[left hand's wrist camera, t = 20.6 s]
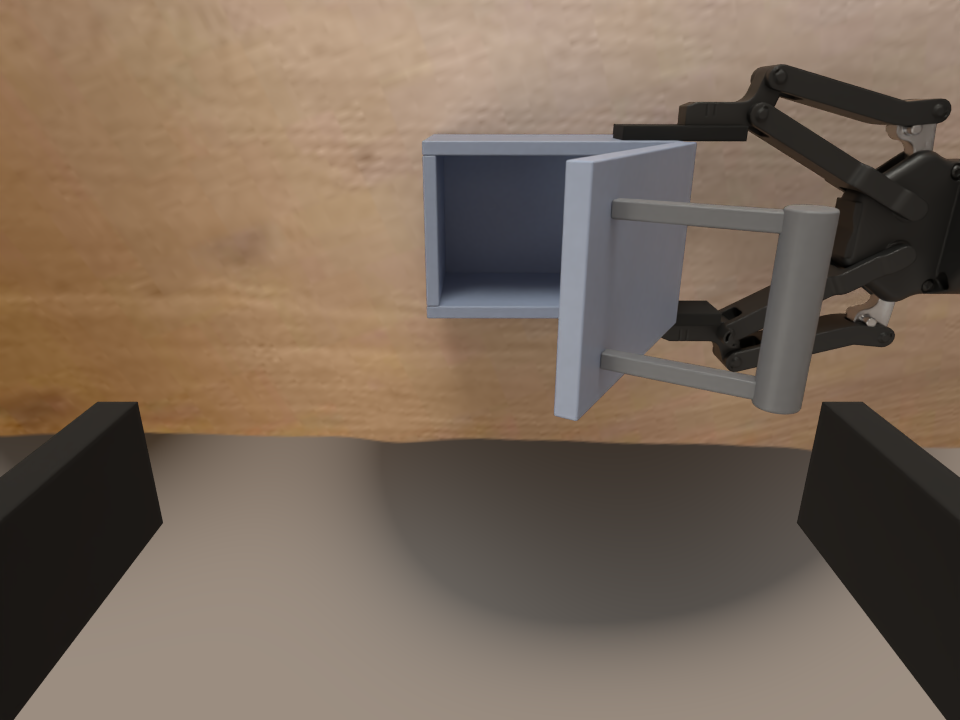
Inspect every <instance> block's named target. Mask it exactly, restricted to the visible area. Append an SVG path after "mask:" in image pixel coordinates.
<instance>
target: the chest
mask: <svg viewBox="0 0 960 720" xmlns="http://www.w3.org/2000/svg"><path fill="white" fill-rule="evenodd" d="M674 142H683V141H678V140H619V139H615V138H613V134H433V135H432V136H430V137H428V138H427V139H425V140H424V141H422V154H423V190H424V225H425V259H426V294H427V318H559V300H560V279H561V258H562V237H563V216H564V195H565V174H566V161H567V160H570V159H577V158H583V157H589V156H595V155H601V154H607V153H613V152H619V151H625V150H631V149H637V148H644V147H650V146H656V145H662V144H668V143H674Z"/></svg>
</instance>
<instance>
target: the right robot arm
mask: <svg viewBox="0 0 960 720" xmlns="http://www.w3.org/2000/svg"><path fill="white" fill-rule="evenodd" d="M779 97H781V98H784V99H788V100H791V101H794V102H798V103H801V104H804V105H808V106H811V107H815V108H818V109H821V110H825V111H828V112H831V113H835V114H838V115H841V116H845V117H848V118H851V119H855V120H858V121H861V122H865V123H870V124H879V125H887V126H886V132H887V133H888V136H889V137H890V138H891V139H894V140H899V141H900V142H902V144H903V146H904V151H903V152H901V153H900V154H898V155H897V156H895V157H893V158H892V159H890V160H889V161H887V162H886V163H884V164H883V165H881V166H880V167H878V168H876V169H874V168H872V167H870V166H868V165H865V164H863V163H861V162H859V161H858V160H856V159H855V158H853V157H851V156H850V155H848V154H847V153H845V152H844V151H842V150H840V149H839V148H837V147H836V146H834V145H833V144H831V143H829V142H828V141H826V140H825V139H823V138H822V137H820V136H819V135H817V134H815V133H814V132H812V131H811V130H809V129H808V128H806V127H804V126H803V125H801V124H800V123H798V122H797V121H795V120H793V119H792V118H790V117H789V116H787V115H786V114H784V113H783V112H781V111H779V110H778V109H776V108H775V107H774V106H775V104H776V102H777V100H778V98H779ZM950 112H951V104H950V102H949V101H948V100H946V99H908V100H900V99H897V98H894V97H891V96H887V95H884V94H881V93H877V92H874V91H871V90H867V89H864V88H861V87H858V86H854V85H851V84H848V83H844V82H841V81H838V80H835V79H831V78H828V77H825V76H821V75H818V74H815V73H811V72H808V71H805V70H802V69H798V68H795V67H792V66H788V65H784V64H780V65H772V66H765V67H760V68H758V69H756V70H755V71H754V72H753V74H752V76H751V85H750V87H749V89H748V91H747V93H746V95H745V96H744V97H743V98H742V99H740V100H739V101H736V102H688V103H686V104H683V105H681V106H679V115H678V124H614V128H613V138H615V139H619V140H678V141H746V140H747V133H748V131H749V132H751V133H753V134H754V135H756V136H757V137H759V138H761V139H762V140H764V141H765V142H767V143H769V144H770V145H772V146H773V147H775V148H777V149H778V150H780V151H781V152H783V153H785V154H786V155H788V156H789V157H791V158H793V159H794V160H796V161H797V162H799V163H801V164H802V165H804V166H805V167H807V168H809V169H810V170H812V171H813V172H815V173H817V174H818V175H820V176H821V177H823V178H824V179H825V180H826V181H827V182H828V183H830V184H831V185H833V186H835V187H836V188H838V189H839V190H841V191H843V192H844V194H843V196H842V198H837V202H836V207H835V208H836V209H839V210H840V215H839V220H838V225H837V230H836V235H835V240H834V245H833V250H832V255H831V260H830V265H829V270H828V275H827V280H826V285H825V290H824V296H823V300H825V299H827V298H829V297H831V296H834V295H843V294H846V293H849V292H851V291H853V290H855V289H858V288H860V287H862V288H863V289H865V290H866V291H867V292H868V293H869V294H871V296H870V298H869V300H868V301H867V302H866V303H864V304H862V305H856V306H854V307H849V308H847V310H846V314H829V315H824V316H820V317H819V321H818V326H817V331H816V336H815V341H814V346H813V351H812V354H815V353H819V352H824V351H828V350H832V349H837V348H841V347H845V346H849V345H864V346H875V347H885V346H888V345H889V344H891V343H892V342H893V340H894V337H895V334H894V331H893V330H892V329H890V328H889V327H887V325H888V322H889V319H890V316H891V313H892V310H893V307H894V304H895V302H897V301H900V300H903V299H905V298H907V297H909V296H912V295H915V294H960V159H945V158H943V157H941V156H940V155H939V154H937V153H935V152H933V151H932V150H933V144H934V138H935V131H936V125H937V123H941V122H943V121H944V120H946V119H947V117H948V116H949V115H950ZM770 287H771V285H770V286H768V287H766V288H764V289H762V290H760V291H758V292H756V293H754V294H752V295H749V296H747V297H745V298H743V299H741V300H739V301H737V302H735V303H733V304H731V305H729V306H727V307H725V308H723V309H720V310H717V309H716V308H714V307H713V306H712V305H711V304H710V303H709V302H708V301H678V310H677V318H676V323H675V324H674V325H673V326H672V327H671V328H670V329H669V330H668V331H667V332H666V333H665V334H664V335H663V336H662V337H661V338H663V339H666V340H668V341H712V343H713V353H714V355H715V356H716V357H717V358H718V359H719V360H720V361H721V362H722V363H723V364H724V365H725V367H726V368H727V369H728V370H730V371H732V372H738V371H742V370H746V369H750V368H755V367H757V364H758V358H759V352H760V346H761V340H762V334H763V330H761V329H763V328H764V322H765V316H766V310H767V304H768V298H769V292H770ZM759 330H761V331H759Z"/></svg>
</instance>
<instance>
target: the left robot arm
mask: <svg viewBox="0 0 960 720" xmlns="http://www.w3.org/2000/svg"><path fill="white" fill-rule="evenodd" d="M162 523H163V520H162V516H161V511H160V506H159V501H158V497H157V492H156V487H155V482H154V478H153V473H152V468H151V463H150V459H149V454H148V449H147V445H146V440H145V435H144V430H143V425H142V421H141V416H140V411H139V406H138V402H97V403H96V404H94V405H93V406H92V407H90V408H89V409H88V410H87V411H85V412H84V413H83V414H81V415H80V416H79V417H78V418H76V419H75V420H74V421H72V422H71V423H70V424H68V425H67V426H66V427H65V428H63V429H62V430H61V431H59V432H58V433H57V434H56V435H54V436H53V437H52V438H51V439H49V440H48V441H47V442H45V443H44V444H43V445H41V446H40V447H39V448H38V449H36V450H35V451H34V452H32V453H31V454H30V455H29V456H27V457H26V458H25V459H23V460H22V461H21V462H20V463H18V464H17V465H16V466H14V467H13V468H12V469H11V470H9V471H8V472H7V473H5V474H4V475H3V476H2V477H0V720H14V719H15V717H16V716H17V715H18V713H19V712H20V711H21V709H22V708H23V707H24V705H25V704H26V703H27V701H28V700H29V699H30V698H31V696H32V695H33V694H34V692H35V691H36V690H37V688H38V687H39V686H40V684H41V683H42V682H43V680H44V679H45V678H46V676H47V675H48V674H49V672H50V671H51V670H52V669H53V667H54V666H55V665H56V663H57V662H58V661H59V659H60V658H61V657H62V655H63V654H64V653H65V651H66V650H67V649H68V647H69V646H70V645H71V643H72V642H73V641H74V640H75V638H76V637H77V636H78V634H79V633H80V632H81V630H82V629H83V628H84V626H85V625H86V624H87V622H88V621H89V620H90V618H91V617H92V616H93V614H94V613H95V612H96V611H97V609H98V608H99V607H100V605H101V604H102V603H103V601H104V600H105V599H106V597H107V596H108V595H109V593H110V592H111V591H112V589H113V588H114V587H115V585H116V584H117V583H118V582H119V580H120V579H121V578H122V576H123V575H124V574H125V572H126V571H127V570H128V568H129V567H130V566H131V564H132V563H133V562H134V560H135V559H136V558H137V556H138V555H139V554H140V552H141V551H142V550H143V549H144V547H145V546H146V544H147V543H148V542H149V541H150V539H151V538H152V537H153V535H154V534H155V533H156V531H157V530H158V529H159V527H160V526H161V525H162ZM797 523H798V525H799V526H800V527H801V529H802V530H803V531H804V533H805V534H806V535H807V537H808V538H809V539H810V541H811V542H812V543H813V545H814V546H815V547H816V549H817V550H818V551H819V553H820V554H821V555H822V556H823V558H824V559H825V560H826V562H827V563H828V564H829V566H830V567H831V568H832V570H833V571H834V572H835V574H836V575H837V576H838V578H839V579H840V580H841V582H842V583H843V584H844V585H845V587H846V588H847V589H848V591H849V592H850V593H851V595H852V596H853V597H854V599H855V600H856V601H857V603H858V604H859V605H860V606H861V608H862V609H863V611H864V612H865V613H866V614H867V616H868V617H869V618H870V620H871V621H872V622H873V624H874V625H875V626H876V628H877V629H878V630H879V632H880V633H881V634H882V636H883V637H884V638H885V640H886V641H887V642H888V643H889V645H890V646H891V647H892V649H893V650H894V651H895V653H896V654H897V655H898V657H899V658H900V659H901V661H902V662H903V663H904V665H905V666H906V667H907V669H908V670H909V671H910V672H911V674H912V675H913V676H914V678H915V679H916V680H917V682H918V683H919V684H920V686H921V687H922V688H923V690H924V691H925V692H926V694H927V695H928V696H929V697H930V699H931V700H932V701H933V703H934V704H935V705H936V707H937V708H938V709H939V711H940V712H941V713H942V715H943V716H944V717H945V719H946V720H960V477H958V476H957V475H956V474H955V473H953V472H952V471H951V470H949V469H948V468H947V467H946V466H944V465H943V464H942V463H940V462H939V461H938V460H937V459H935V458H934V457H933V456H931V455H930V454H929V453H928V452H926V451H925V450H924V449H922V448H921V447H920V446H919V445H917V444H916V443H915V442H913V441H912V440H911V439H910V438H908V437H907V436H906V435H904V434H903V433H902V432H901V431H899V430H898V429H897V428H895V427H894V426H893V425H892V424H890V423H889V422H888V421H886V420H885V419H884V418H882V417H881V416H880V415H879V414H877V413H876V412H875V411H873V410H872V409H871V408H870V407H868V406H867V405H866V404H864V403H863V402H822V406H821V411H820V416H819V421H818V425H817V430H816V435H815V440H814V444H813V449H812V454H811V459H810V463H809V468H808V473H807V478H806V482H805V487H804V492H803V497H802V501H801V506H800V511H799V516H798V520H797Z"/></svg>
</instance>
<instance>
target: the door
mask: <svg viewBox="0 0 960 720" xmlns="http://www.w3.org/2000/svg"><path fill="white" fill-rule="evenodd" d="M696 146H697V143H696V142H674V143H668V144H662V145H656V146H650V147H644V148H637V149H631V150H625V151H619V152H613V153H607V154H601V155H595V156H589V157H583V158H577V159H570V160H567V161H566V174H565V195H564V216H563V237H562V258H561V279H560V300H559V321H558V343H557V364H556V385H555V406H554V415H555V416H558V417H562V418H566V419H570V420H574V421H578V420H579V419H580V418H581V417H582V416H583V415H584V414H585V413H586V412H587V411H588V410H589V409H590V408H591V407H592V406H593V405H594V404H595V403H596V402H597V401H598V400H599V399H600V398H601V397H602V396H603V395H604V394H605V393H606V392H607V391H608V390H609V389H610V388H611V387H612V386H613V385H614V384H615V383H616V382H617V381H618V380H619V379H620V378H621V377H622V376H623V375H624V374H629V375H633V376H638V377H643V378H648V379H653V380H658V381H663V382H668V383H673V384H678V385H683V386H688V387H693V388H698V389H703V390H707V391H712V392H717V393H722V394H727V395H732V396H737V397H742V398H747V399H752V403H753V404H754V405H755V406H756V407H757V408H759V409H761V410H764V411H767V412H770V413H775V414H794V413H797V412H798V411H799V410H800V409H801V406H802V401H803V396H804V391H805V386H806V381H807V376H808V371H809V366H810V361H811V356H812V351H813V346H814V341H815V336H816V331H817V326H818V321H819V316H820V311H821V306H822V301H823V296H824V290H825V285H826V280H827V275H828V270H829V265H830V260H831V255H832V250H833V245H834V240H835V235H836V230H837V225H838V220H839V215H840V210H839V209H836V208H833V207H828V206H820V205H789V206H785V207H784V209H770V208H756V207H742V206H728V205H714V204H699V203H690V198H691V189H692V180H693V172H694V163H695V155H696ZM687 226H698V227H710V228H721V229H732V230H744V231H755V232H767V233H778V234H779V239H778V245H777V251H776V257H775V263H774V269H773V275H772V281H771V287H770V292H769V298H768V304H767V310H766V316H765V322H764V328H763V334H762V340H761V346H760V352H759V358H758V364H757V370H756V376H752V375H747V374H741V373H736V372H731V371H725V370H720V369H715V368H709V367H704V366H698V365H693V364H688V363H682V362H677V361H672V360H666V359H661V358H655V357H650V356H645V355H644V354H645V353H646V352H647V351H648V350H649V349H650V348H651V347H652V346H653V345H654V344H655V343H656V342H657V341H658V340H659V339H660V338H661V337H662V336H663V335H664V334H665V333H666V332H667V331H668V330H669V329H670V328H671V327H672V326H673V325H674V324H675V323H676V318H677V310H678V301H679V292H680V284H681V275H682V266H683V258H684V249H685V241H686V232H687Z"/></svg>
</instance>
